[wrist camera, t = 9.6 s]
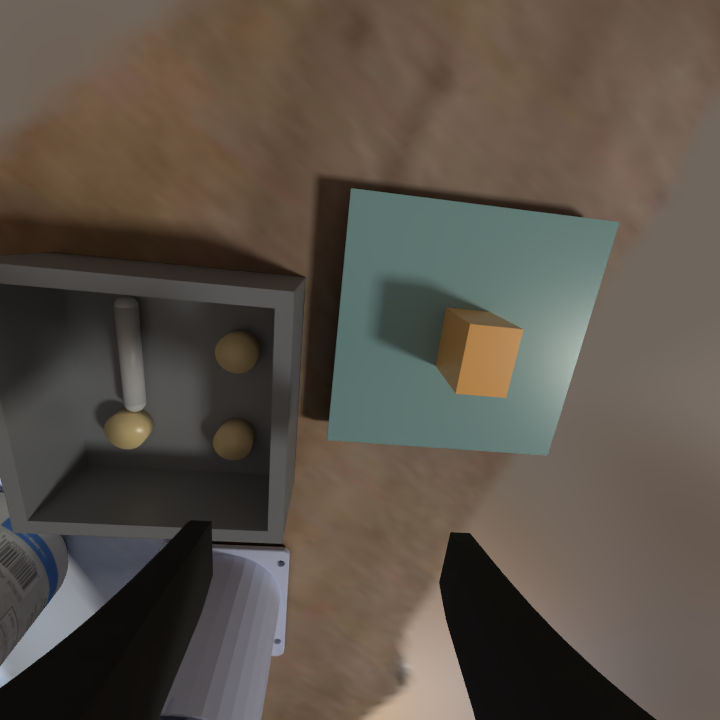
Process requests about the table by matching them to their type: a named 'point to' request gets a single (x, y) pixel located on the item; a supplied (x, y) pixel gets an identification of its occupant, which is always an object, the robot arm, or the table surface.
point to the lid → (460, 322)
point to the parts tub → (147, 397)
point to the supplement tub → (26, 578)
